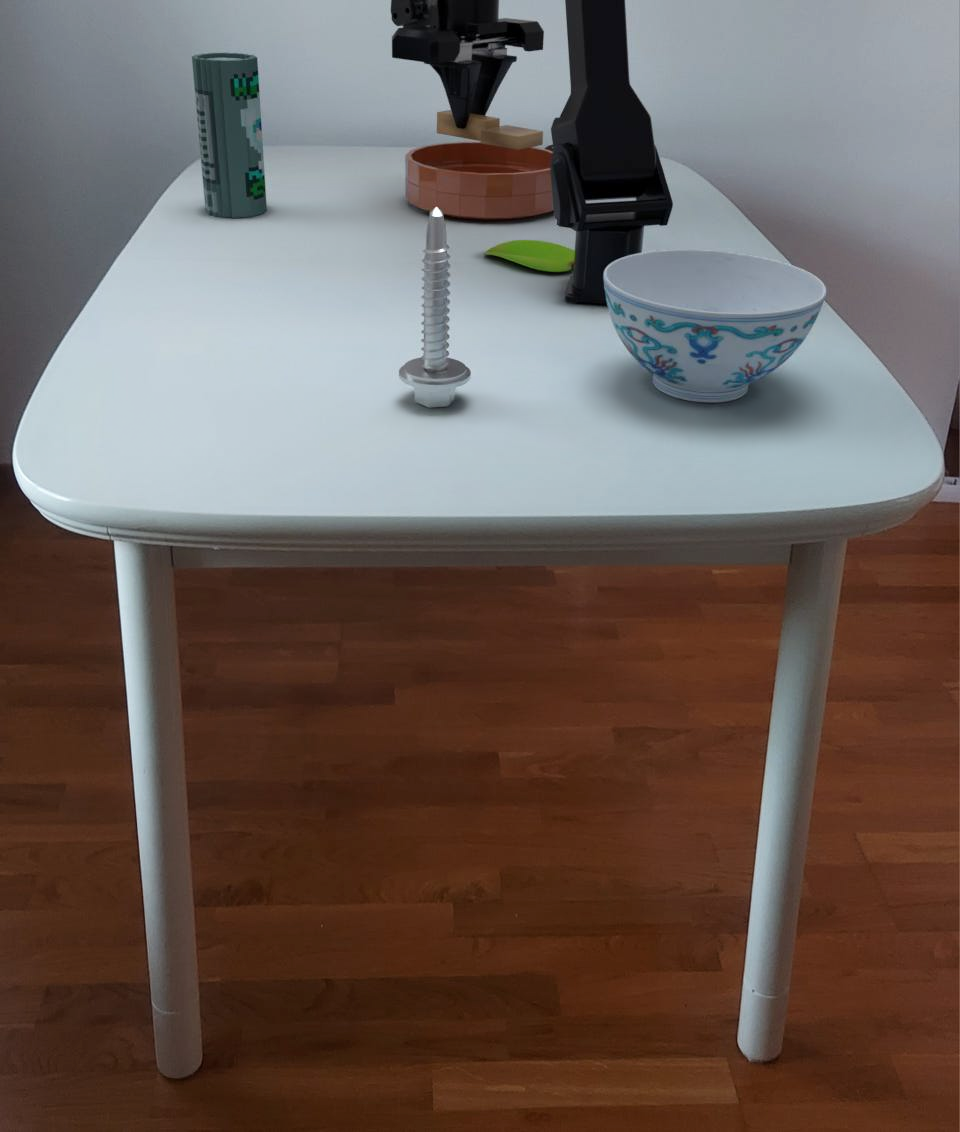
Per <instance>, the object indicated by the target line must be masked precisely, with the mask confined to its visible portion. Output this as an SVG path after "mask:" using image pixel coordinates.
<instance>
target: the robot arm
mask: <svg viewBox="0 0 960 1132" xmlns="http://www.w3.org/2000/svg"><path fill="white" fill-rule="evenodd" d="M564 3H565V4H564V5H565V21H566V36H567V51H568V62H569V63H568V64H569V66H568V67H569V81H570V82H569V83H570V95H569V96H568V98H567V101H566V103H565V104H564V107H563V109H562V111H561V113H560V115H559V117H555V118H554V119H553V121H552V123H551V127H550V133H551V140H552V145H553V153H552V158H551V161H550V171H551V184H552V197H553V209H554V210H553V213H554V219H555V220H556V226H558V227H560V228H566V229H571V230H573V231H574V232H575V241H574V251H575V254H574V265H573V267H572V268H573V270H572V275H570V276H569V280H568V283H567V286H566V289H565V292H564V301H567V302H574V303H588V304H602V305H607V301H606V296H605V289H604V278H603V276H604V270H605V268H606V267H607V266H608V265H609V264H610V263H612V262H614V261H615V260H618V259H620V258H623V257H626V256H629V255H633V254H638V253H643V244H644V233H645V227H648V226H660V227H663V226H665V227H666V226H668V224H669V220H670V218H671V214H672V211H673V208H674V202H673V198H672V196H671V191H670V189H669V188H670V187H669V185H668V182H667V179H666V175H665V172H664V168H663V165H662V161H661V159H660V158H661V157H660V156H659V152H658V149H657V146H656V144H655V138H654V130H653V122H652V116H651V114H650V113H649V112H648V110H647V108H646V106H645V105H644V104H643V102H642V101H641V99H640V97H639V96H638V95H637V93H636V92H635V90H634V89H633V87H632V85H631V81H630V65H629V50H628V49H629V48H628V29H627V11H626V9H627V8H626V0H564ZM499 12H500V0H390V15H391V22H392V23H393V24H394V25H395V27H398V28H397V29H396V30H395V32H394V33H393V35H392V36H391V58H392V59H399V60H406V61H413V62H421V63H423V64H425V65H429V66H430V67H431V68H432V69H433V70H434V71H435V73H436V74H437V75H438V76H439V79H440V81H441V83H442V86H443V88H444V92H445V94H446V98H447V101H448V104H449V108H450V110H451V111H452V115H453V118H454V121H455V125H456V127H457V128H460V129H465V128H466V126H467V123H468V119H469V116H470V113H471V114H477V115H483V116H487V115H486V114H487V113H488V111H489V109H490V107H491V104H492V102H493V100H494V98H495V96H496V95H497V92H498V90H499V88H500V86H501V84H502V82H503V81H504V79H505V77H506V76H507V73H508V72H509V70H510V68H511V66H512V65H513V63H516V62H517V60H518V56H516V55H509V54H508V48H507V47H506V46H508V47H509V46H510V47H513V48H521V49H523V50H524V52H536V51H537V52H538V51H543V50H544V38H545V31H544V29H543V27H542V26H541V25H540V22H539V21H537V20H527V19H520V18H519V19H518V18H509V17H503V18H502V17H501V18H500V17H499V15H500V13H499ZM623 199H624V200H623ZM625 199H634V200H625ZM605 200H607V201H605ZM608 200H619V201H608ZM589 201H590V203H589ZM591 201H601V202H591ZM602 201H603V202H602Z"/></svg>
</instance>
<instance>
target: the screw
mask: <svg viewBox="0 0 960 1132" xmlns="http://www.w3.org/2000/svg"><path fill="white" fill-rule="evenodd" d="M446 227H447V226H446V222H445V215H443V212H442V210H440V209H439V208H437V207H436V208H434V209H433V210H431V211H429V217H428V222H427V226H426V232H425V233H426V234H425V248H424V249H423V250H422V253H424V257H423V259H421V261H420V262H422V263H423V268H421V271H422V272H423V277H422V278H421V280H422V281H423V286H421V289H422V290H423V295H421V296H420V297H421V298H422V299H423V304H421V305H420V306H421V307H422V308H423V312H422V313H421V314H420V315H421V316H422V317H423V321H421V322H420V324H421V325H422V326H423V329H422V330H421V331H420V333H421V334H423V338H422V339H420V340H421V342H422V343H423V347H421V348H420V349H421V351H422V352H423V355H422V356H420V357H416V358H413V359H410V360H408V361H406V362H405V363H404V364H403V365H401V367H399V369H398V378H399V380H400V381H401V382H402V383H403V384H406V385H408V386H410V387H412V388H414V403H417V404H419V405H421V406H424V407H426V408H428V409H429V408H430V409H431V408H443V407H444V408H446V407H449V406H450V405H451V404H452V403H453V401H454V400H455V397H456V391H455V390H456V389H457V388H459V387H462V386H464V385H465V384H467V383H469V382H470V380H471V378H472V375H471V372H472V371H471V369H470V368H469V367H468V366H466V364H465V363H463V362H462V361H461V360H458V359H455V358H451V357H449V355H450V352H449V351H448V349H449V348H450V343H449V342H448V340H449V339H450V335H449V333H448V331H450V325H448V323H449V322H450V316H448V314H449V313H450V311H451V310H450V308H449V307H448V306H449V305H450V303H451V300H450V299H449V298H448V297H449V296H450V295H451V291H450V290H449V289H448V288H449V287H450V286H451V282H450V281H449V280H448V279H449V278H450V277H451V273H450V272H449V269H450V268H451V264H450V262H449V260H450V258H451V255H450V254H449V253H448V250H449V249H450V246H449V244H447V229H446Z"/></svg>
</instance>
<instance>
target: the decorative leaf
mask: <svg viewBox="0 0 960 1132" xmlns="http://www.w3.org/2000/svg"><path fill="white" fill-rule="evenodd" d="M483 254H484V255H490V256H496V257H499V258H502V259H505V260H508V261H510V262H514V263H516V264H519V265H522V266H525V267H526V268H527V267H528V268H530V269H534V270H537V271H543V272H551V273H563V272H569V271H571V270H572V268H573V266H574V254H575V249H572V248H570V247H566V246H564V245H562V244H557V243H554V242H549V241H545V240H543V241H542V240H535V239H519V240H517V239H516V240H510V241H506V242H502V243H499V244H496V245H494V246H492V247H490V248H488V249H487V250H485V251H484V253H483Z"/></svg>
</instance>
